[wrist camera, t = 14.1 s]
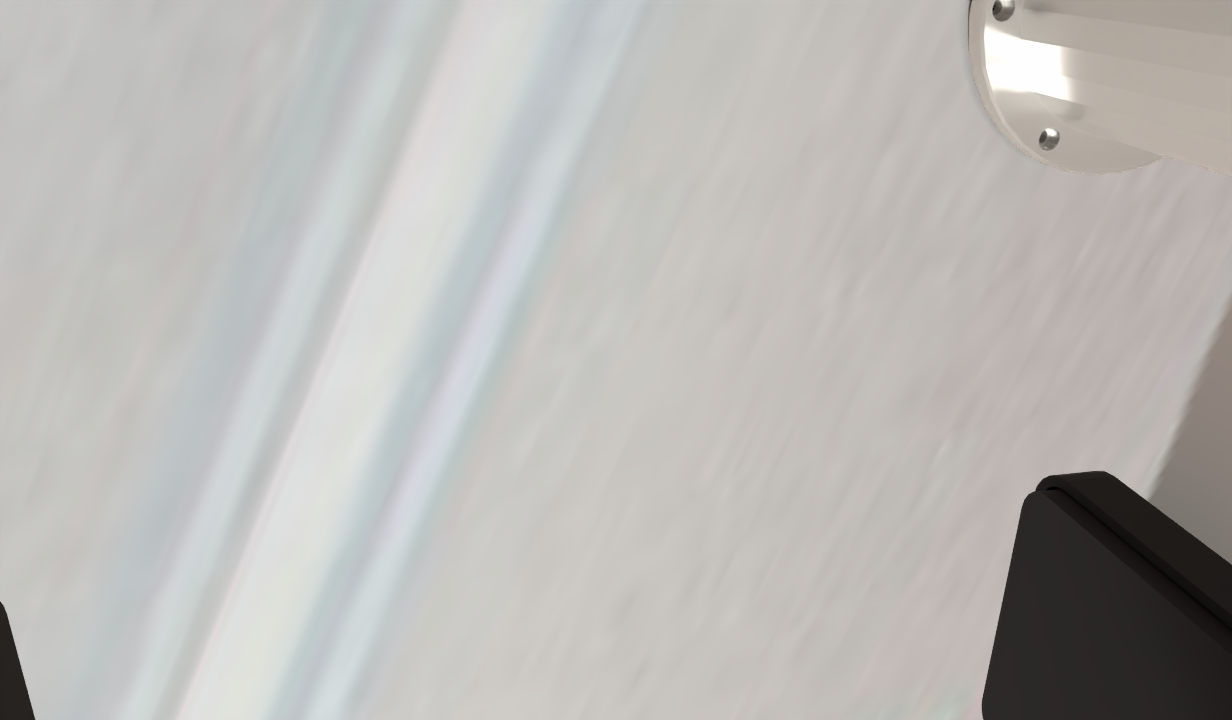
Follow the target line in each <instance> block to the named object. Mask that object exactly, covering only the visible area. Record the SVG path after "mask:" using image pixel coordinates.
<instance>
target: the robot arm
mask: <svg viewBox="0 0 1232 720" xmlns="http://www.w3.org/2000/svg"><path fill="white" fill-rule="evenodd" d="M994 3H995V9H994V11H993V12H992V8H993V6H994ZM969 53H970V59H971V65H972V71H973V77H974V81H975V84H976V87H977V89H978V92H979V95H980V97H981V100H982V102H983V105H984V108H985V109H986V111H987V112H988V114H989V116H990V117H991V119H992V120H993V122H994V123H995V125H996V126H997V128H998V129H999V131H1000V132H1001V133H1002V134H1003V135H1004V136H1005V137H1006V138H1007V139H1008V140H1009V141H1010V142H1011V143H1013V144H1014V145H1015V146H1016V147H1017V148H1018V149H1019V150H1021V151H1022V152H1024V153H1026V154H1028V155H1029V156H1031V157H1033V158H1034V159H1036V160H1038V161H1040V162H1042V163H1045V164H1048V165H1051V166H1054V167H1056V168H1059V169H1061V170H1064V171H1069V172H1075V173H1081V174H1087V175H1103V174H1118V173H1122V172H1126V171H1130V170H1134V169H1138V168H1142V167H1145V166H1148V165H1150V164H1152V163H1154V162H1156V161H1158V160H1161V159H1163V158H1165V157H1167V158H1171V159H1174V160H1177V161H1181V162H1184V163H1187V164H1191V165H1194V166H1197V167H1201V168H1204V169H1207V170H1210V171H1214V172H1217V173H1220V174H1224V175H1227V176H1230V177H1232V0H972V3H971V9H970V14H969ZM982 715H983V720H1232V565H1231V564H1230V563H1229V562H1227V561H1226V560H1225V559H1223V558H1222V557H1221V556H1219V555H1218V554H1217V553H1215V552H1214V551H1213V550H1211V549H1210V548H1209V547H1207V546H1206V545H1205V544H1203V543H1202V542H1201V541H1199V540H1198V539H1197V538H1195V537H1194V536H1193V535H1191V534H1190V533H1189V532H1187V531H1186V530H1184V528H1182V527H1181V526H1179V525H1178V524H1177V523H1175V522H1174V521H1173V520H1171V519H1170V518H1169V517H1168V516H1166V515H1165V514H1164V513H1162V512H1161V511H1160V510H1158V509H1157V508H1156V507H1154V506H1153V505H1152V504H1150V503H1149V502H1148V501H1146V500H1145V499H1144V498H1142V497H1141V496H1140V495H1138V494H1137V493H1136V492H1134V491H1133V490H1132V489H1130V488H1129V487H1128V486H1126V485H1125V484H1124V483H1122V482H1121V481H1120V480H1118V479H1117V478H1116V477H1114V476H1113V475H1111V474H1109V473H1107V472H1105V471H1091V472H1081V473H1071V474H1061V475H1051V476H1048V477H1046V478H1044V479H1042V481H1041V482H1040V483H1039V484H1038V486H1037V488H1036V491H1035V492H1032V493H1030V494H1029V495H1028V496H1027V497H1026V498H1025V500H1024V503H1023V506H1022V509H1021V514H1020V519H1019V524H1018V529H1017V534H1016V539H1015V543H1014V548H1013V553H1012V558H1011V563H1010V568H1009V572H1008V577H1007V582H1006V587H1005V592H1004V597H1003V602H1002V606H1001V611H1000V616H999V621H998V626H997V631H996V635H995V640H994V645H993V650H992V655H991V660H990V665H989V669H988V674H987V679H986V684H985V689H984V694H983V698H982ZM0 720H35V717H34V713H33V710H32V706H31V702H30V699H29V695H28V691H27V687H26V684H25V680H24V676H23V672H22V669H21V665H20V661H19V658H18V654H17V650H16V646H15V643H14V639H13V635H12V631H11V628H10V624H9V620H8V617H7V613H6V611H5V608H4V606H3V604H2V603H1V602H0Z"/></svg>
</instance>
